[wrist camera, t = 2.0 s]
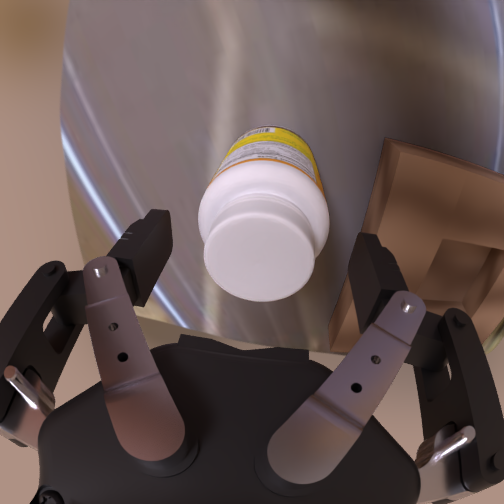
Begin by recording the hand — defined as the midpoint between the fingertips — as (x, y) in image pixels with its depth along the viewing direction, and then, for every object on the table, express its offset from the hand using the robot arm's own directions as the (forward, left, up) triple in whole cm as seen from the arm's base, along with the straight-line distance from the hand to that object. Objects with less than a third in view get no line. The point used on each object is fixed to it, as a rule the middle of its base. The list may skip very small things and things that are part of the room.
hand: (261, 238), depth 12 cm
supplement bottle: (0, 0, -8) cm, 8 cm away
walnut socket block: (+6, +16, -8) cm, 19 cm away
